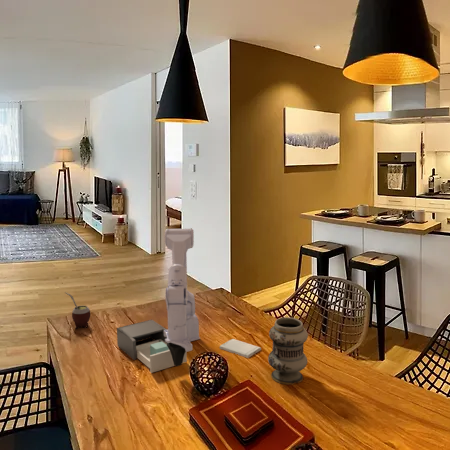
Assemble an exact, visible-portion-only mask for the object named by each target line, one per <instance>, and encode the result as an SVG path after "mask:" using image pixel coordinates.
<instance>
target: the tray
mask: <svg viewBox="0 0 450 450" xmlns="http://www.w3.org/2000/svg"><path fill="white" fill-rule="evenodd" d="M158 342H163V343H165V344H166V345H167V343H166V342H164V341H163V340H161V339H159V340H152V341H148V342H144V343H141V344H136V359H138V360H139V361H140V362H142V364H144V365H145V366H146V367H147V368H148V369H149V372H150V373H151V374H152V373H156V372H159V371H162V370H165V369H169V368H171V367H174V366H175V365H174V362H173V359H172V355H171V352H170V350H169V348H168V350H167V351H163V352H160V353H156V354H153V355H150V345H151V344H154V343H158ZM187 355H188V353H187V352H185V354H184V358H183V362H182V364H185V363H187V362H188V359H187ZM175 367H176V366H175Z"/></svg>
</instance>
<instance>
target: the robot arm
mask: <svg viewBox="0 0 450 450" xmlns="http://www.w3.org/2000/svg"><path fill="white" fill-rule="evenodd" d="M194 232H195V231H194V229H193V227H192V228H191V227H190V228H166V229H165V231H164V245H165V246H166V247H167V249H169V250H171V260H172V266H170V267H169V268H168V272H167V273H168V274H167V287H165V295H164V296H165V303H166V312H167V328H166V329H167V330H164V336H165V337H167V339H165V342H167V347H168V348H169V350H170V352H171V355H172V359H173V362H174V365H175V367H179V366H180V367H181V366H182V365H183V363H182V362H183V358H184V354H185V352H191V351H193V344H192V343H191V342H194V341H197V340H200V339H201V336H200V323H199V322H200V321H199V318H198V316H197V315H196V300H195V299H196V298H195V294H194V293H192V292H190V291H189V290H188V271H187V270H188V265H187V264H188V263H187V262H188V261H187V252H188V251H189V249H193V248H194V245H195V244H194V243H195V241H194V239H195V238H194V236H195V235H194Z"/></svg>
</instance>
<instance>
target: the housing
mask: <svg viewBox="0 0 450 450" xmlns="http://www.w3.org/2000/svg"><path fill="white" fill-rule="evenodd" d="M167 329H168V328H165V327H164V326H163V325H161V324H159V323H158V322H156V321H155V320H153V319H148V320H144V321H141V322H140V321H139V322H136V323H132V324H128V325H123V326H120V327H119V326H118V327H117V328H116V337H117V339H116V341H117V344H116V345H117V347H119V349H121V350H122V351H123V352H124V353H125V354H127V355H128V357H130V358H131V359H132V360H133V361H135V360H137V357H136V345H137V342H141V341H145V340H149V339H152V341H155V340H159V339H161V340H163V341H164V342H165V339H167V337H165V336H164V330H167ZM166 343H167V342H166Z"/></svg>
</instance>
